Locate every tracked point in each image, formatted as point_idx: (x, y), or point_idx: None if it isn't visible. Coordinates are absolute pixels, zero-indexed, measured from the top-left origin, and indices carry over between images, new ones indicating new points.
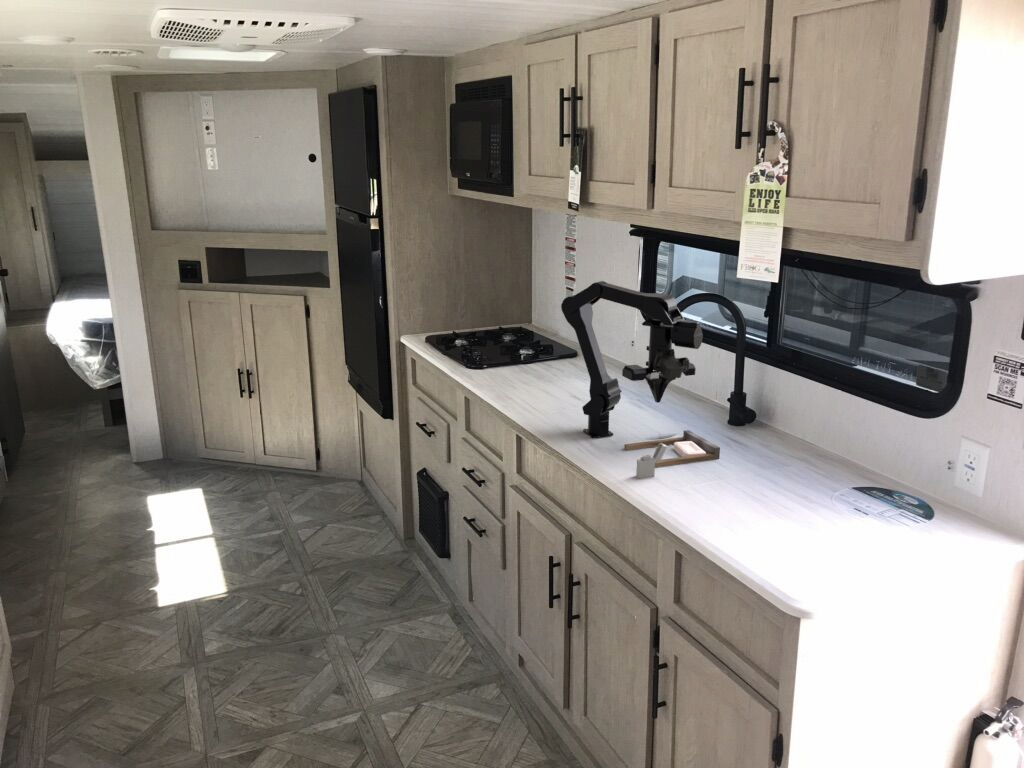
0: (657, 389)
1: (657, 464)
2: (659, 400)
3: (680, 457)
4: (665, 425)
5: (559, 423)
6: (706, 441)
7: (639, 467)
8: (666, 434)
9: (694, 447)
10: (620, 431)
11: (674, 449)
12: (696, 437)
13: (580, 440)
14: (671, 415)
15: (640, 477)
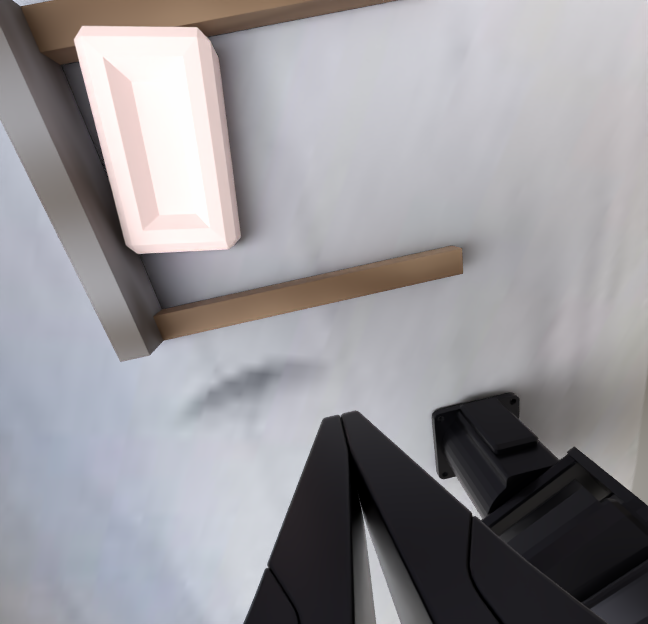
0: (467, 571)
1: None
2: (334, 426)
3: (255, 3)
4: (204, 500)
5: None
6: (32, 148)
7: None
8: (224, 414)
9: (134, 146)
10: None
11: (239, 224)
12: (91, 235)
13: (560, 375)
14: (157, 584)
15: None
